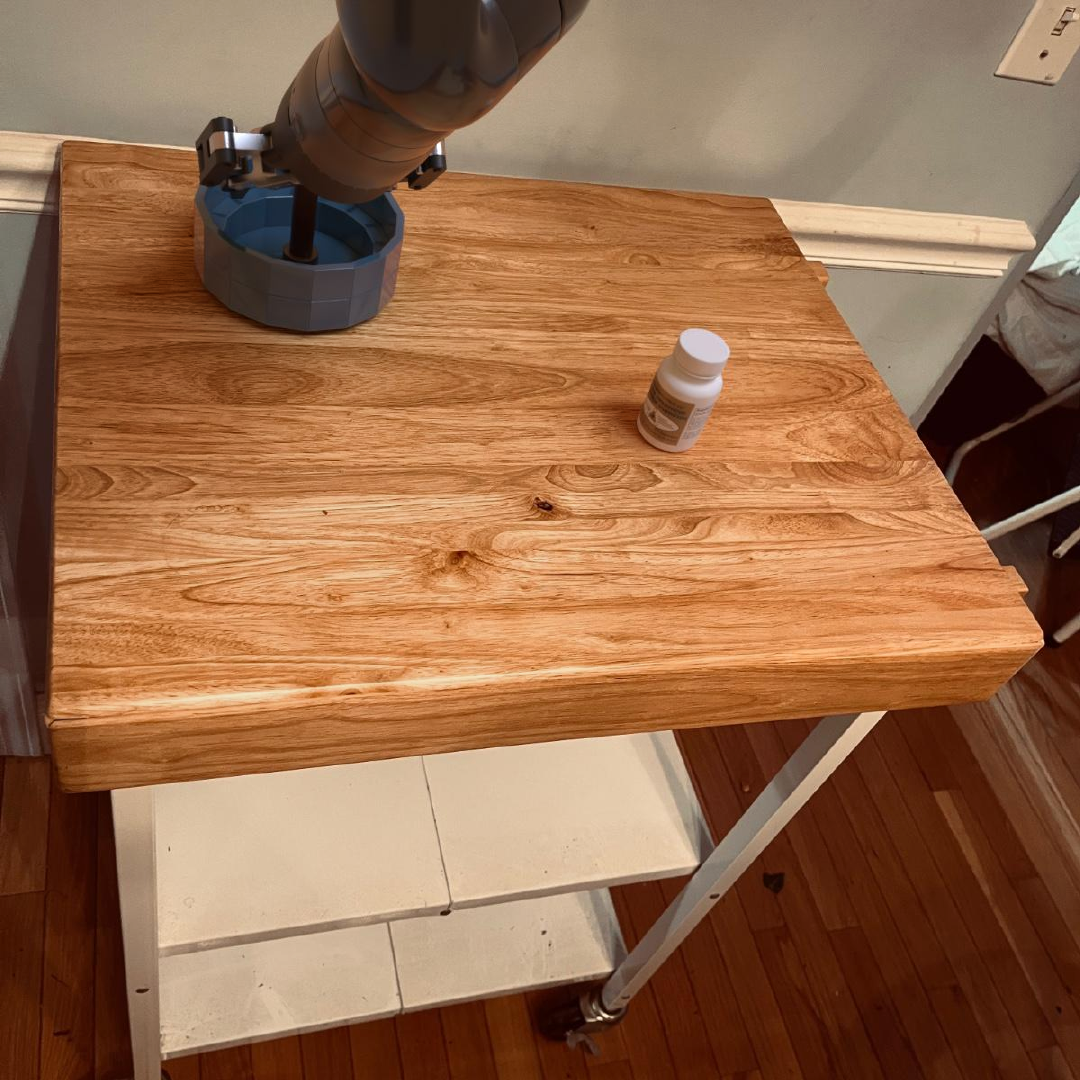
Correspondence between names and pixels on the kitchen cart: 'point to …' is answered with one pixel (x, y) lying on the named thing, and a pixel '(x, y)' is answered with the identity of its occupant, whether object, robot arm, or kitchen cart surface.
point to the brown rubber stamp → (302, 228)
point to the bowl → (289, 287)
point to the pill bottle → (684, 391)
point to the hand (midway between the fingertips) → (299, 184)
